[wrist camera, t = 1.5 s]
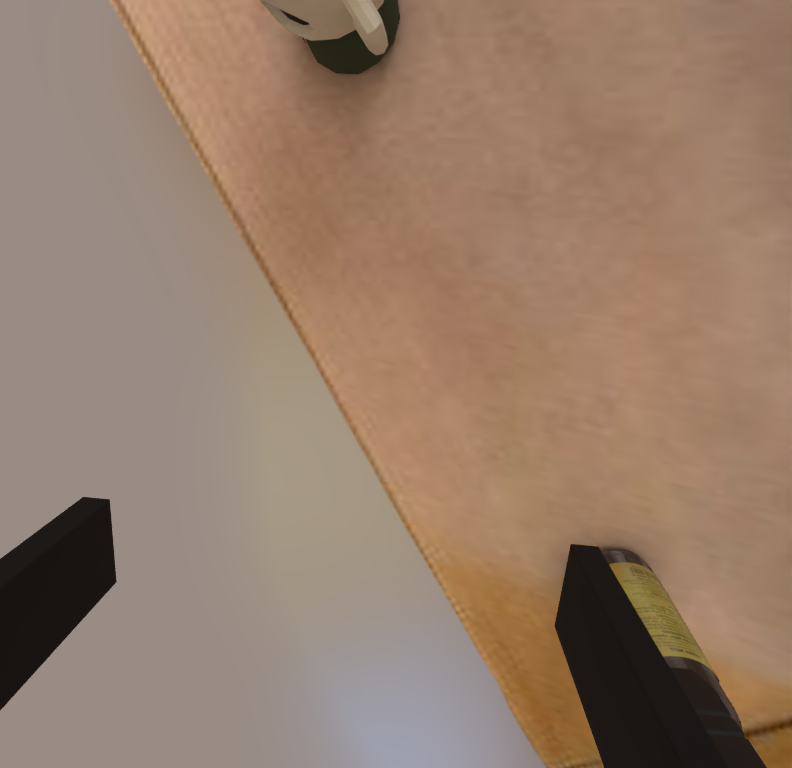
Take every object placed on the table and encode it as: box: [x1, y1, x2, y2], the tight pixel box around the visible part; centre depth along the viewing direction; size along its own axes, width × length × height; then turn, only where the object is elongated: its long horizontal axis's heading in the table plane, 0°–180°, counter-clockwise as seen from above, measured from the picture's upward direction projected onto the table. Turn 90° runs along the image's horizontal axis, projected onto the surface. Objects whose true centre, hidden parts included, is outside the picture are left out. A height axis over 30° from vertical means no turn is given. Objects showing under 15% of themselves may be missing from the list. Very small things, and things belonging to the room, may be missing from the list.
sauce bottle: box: [602, 550, 742, 730], centre depth 31 cm, size 6×6×20 cm
